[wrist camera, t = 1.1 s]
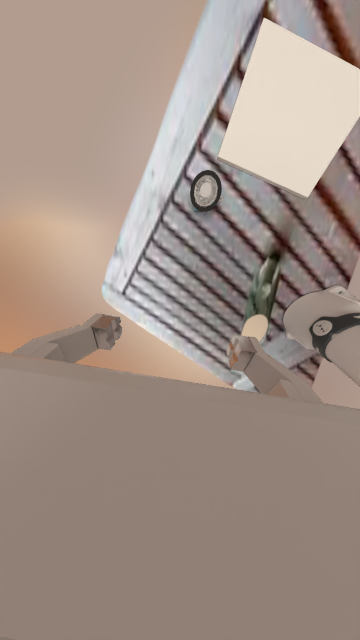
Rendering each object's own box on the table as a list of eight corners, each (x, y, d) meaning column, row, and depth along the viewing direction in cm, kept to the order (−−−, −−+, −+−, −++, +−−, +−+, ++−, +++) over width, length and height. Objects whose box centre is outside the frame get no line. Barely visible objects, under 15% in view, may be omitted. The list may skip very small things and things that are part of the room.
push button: (221, 184, 29) (231, 160, 20) (222, 215, 31) (230, 204, 23) (191, 192, 30) (187, 172, 22) (193, 221, 33) (191, 213, 24)
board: (373, 89, 21) (382, 81, 20) (303, 199, 28) (307, 197, 27) (260, 29, 20) (264, 17, 19) (217, 159, 27) (217, 156, 26)
